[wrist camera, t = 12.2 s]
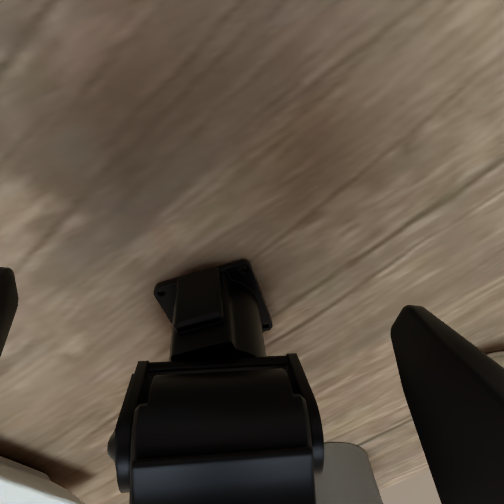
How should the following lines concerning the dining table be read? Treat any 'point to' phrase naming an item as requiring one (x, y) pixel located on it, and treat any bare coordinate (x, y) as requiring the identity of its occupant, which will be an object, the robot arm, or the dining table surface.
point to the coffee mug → (346, 477)
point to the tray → (30, 486)
